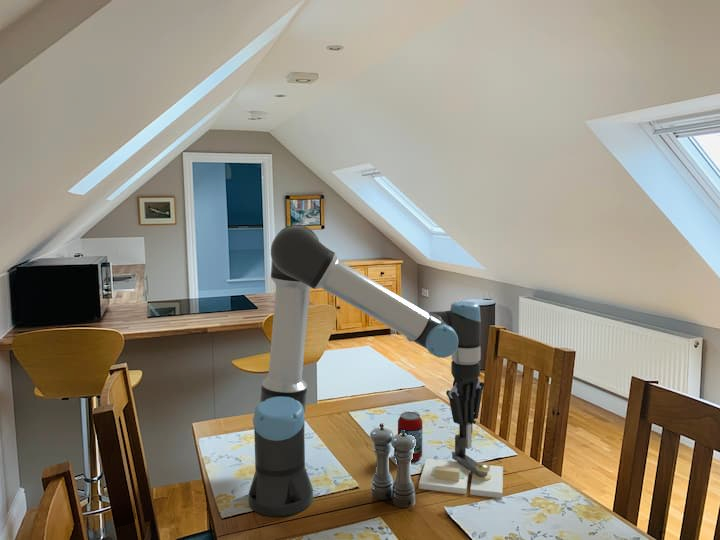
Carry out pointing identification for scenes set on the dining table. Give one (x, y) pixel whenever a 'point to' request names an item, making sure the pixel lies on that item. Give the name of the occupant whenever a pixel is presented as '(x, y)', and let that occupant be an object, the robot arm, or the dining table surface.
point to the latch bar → (468, 458)
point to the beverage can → (412, 430)
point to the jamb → (488, 483)
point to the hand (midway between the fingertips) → (465, 446)
